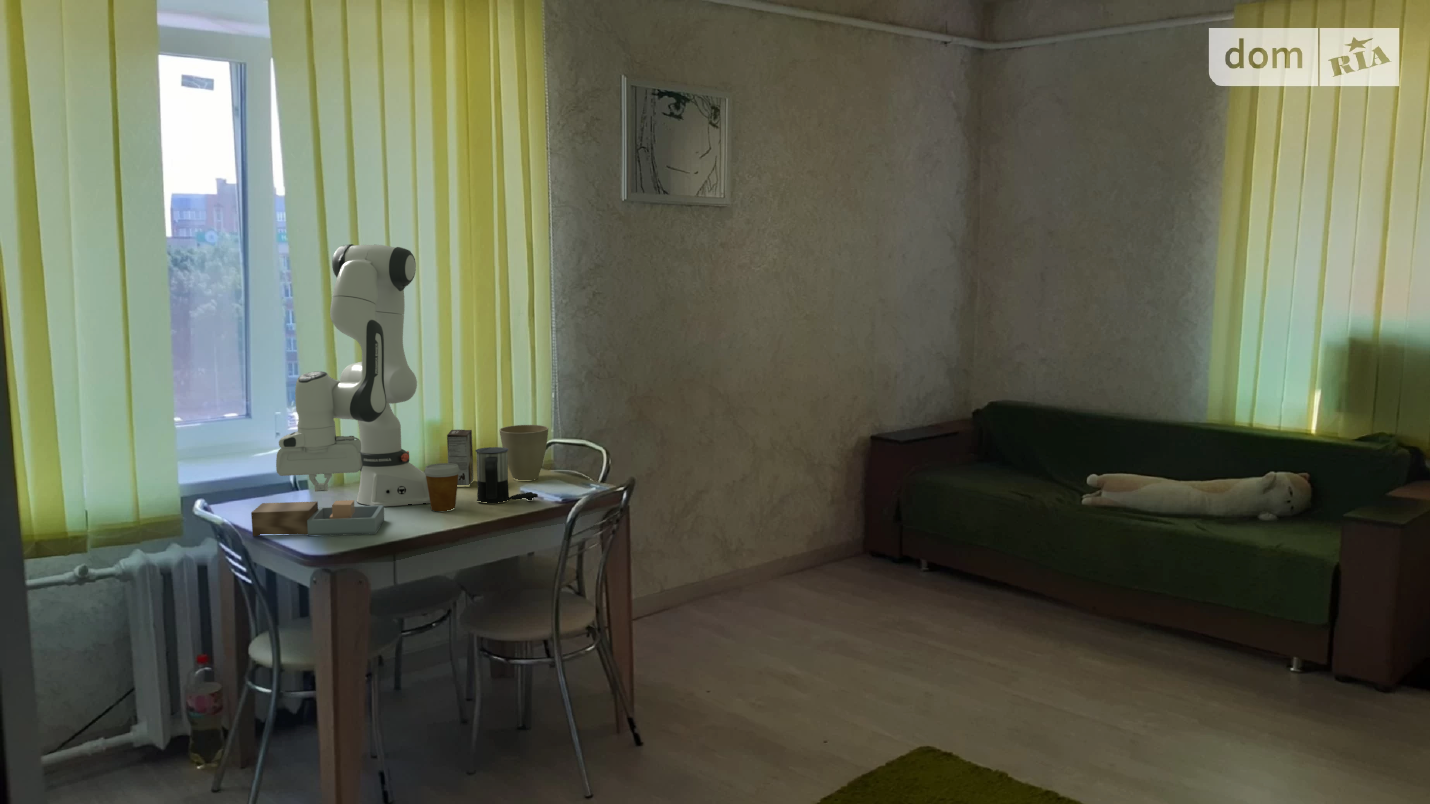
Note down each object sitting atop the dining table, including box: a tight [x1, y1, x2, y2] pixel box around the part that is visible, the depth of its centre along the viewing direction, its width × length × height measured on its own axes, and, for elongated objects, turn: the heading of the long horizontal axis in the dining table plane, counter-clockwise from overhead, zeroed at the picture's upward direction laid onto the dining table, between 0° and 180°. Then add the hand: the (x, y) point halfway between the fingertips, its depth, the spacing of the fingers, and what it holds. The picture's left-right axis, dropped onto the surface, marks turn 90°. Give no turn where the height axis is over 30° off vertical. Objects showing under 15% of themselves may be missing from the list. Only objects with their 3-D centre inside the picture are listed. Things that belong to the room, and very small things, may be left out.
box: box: [307, 505, 385, 536], centre depth 269 cm, size 16×14×4 cm
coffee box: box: [446, 429, 475, 485], centre depth 319 cm, size 9×6×16 cm
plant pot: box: [499, 424, 549, 481], centre depth 327 cm, size 15×15×16 cm
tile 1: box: [331, 499, 355, 517], centre depth 268 cm, size 4×5×3 cm
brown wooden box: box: [250, 500, 319, 537], centre depth 267 cm, size 14×10×6 cm
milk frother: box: [474, 446, 539, 503], centre depth 297 cm, size 14×16×15 cm
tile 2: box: [329, 514, 352, 519], centre depth 269 cm, size 4×5×3 cm
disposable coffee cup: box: [423, 462, 460, 512], centre depth 288 cm, size 10×10×12 cm
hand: (321, 490), depth 268 cm, fingers closed
